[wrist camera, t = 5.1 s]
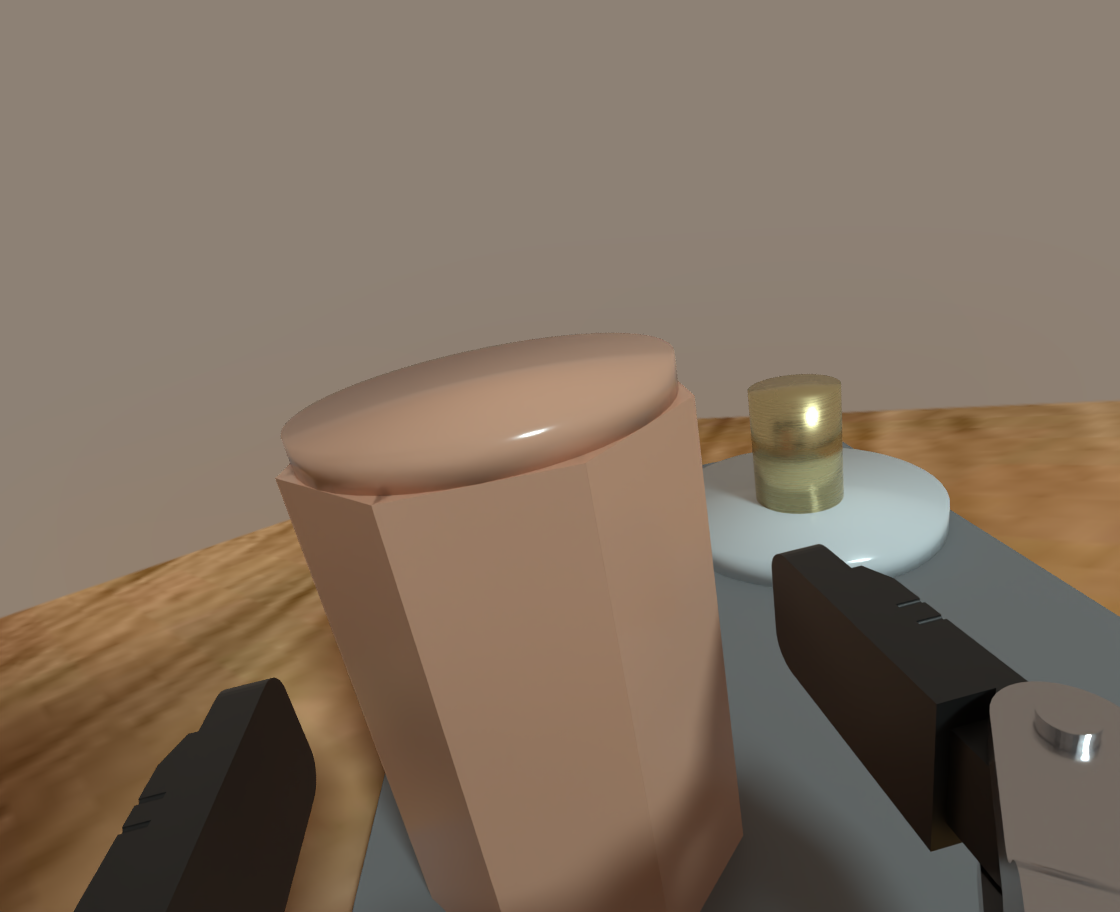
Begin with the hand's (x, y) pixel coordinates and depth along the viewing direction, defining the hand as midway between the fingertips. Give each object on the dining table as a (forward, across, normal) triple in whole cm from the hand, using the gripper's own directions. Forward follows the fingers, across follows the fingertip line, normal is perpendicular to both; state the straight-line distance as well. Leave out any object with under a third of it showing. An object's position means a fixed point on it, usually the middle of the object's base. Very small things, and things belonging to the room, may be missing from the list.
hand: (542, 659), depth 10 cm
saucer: (+12, -11, +6) cm, 18 cm away
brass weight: (+12, -11, +5) cm, 17 cm away
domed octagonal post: (+2, 0, +6) cm, 6 cm away
